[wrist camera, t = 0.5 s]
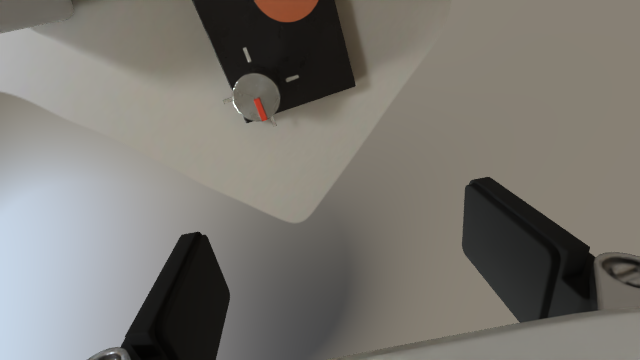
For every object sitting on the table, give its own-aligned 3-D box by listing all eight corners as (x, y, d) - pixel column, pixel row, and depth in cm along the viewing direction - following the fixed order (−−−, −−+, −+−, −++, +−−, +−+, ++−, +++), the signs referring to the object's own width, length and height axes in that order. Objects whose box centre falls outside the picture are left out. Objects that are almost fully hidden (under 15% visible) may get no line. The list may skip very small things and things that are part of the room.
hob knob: (233, 75, 32) (223, 82, 27) (272, 61, 31) (269, 66, 27) (249, 114, 34) (243, 128, 29) (287, 102, 33) (286, 113, 29)
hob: (169, -32, 29) (159, -38, 27) (309, -84, 28) (310, -95, 26) (243, 131, 37) (240, 138, 34) (354, 93, 36) (359, 97, 34)
